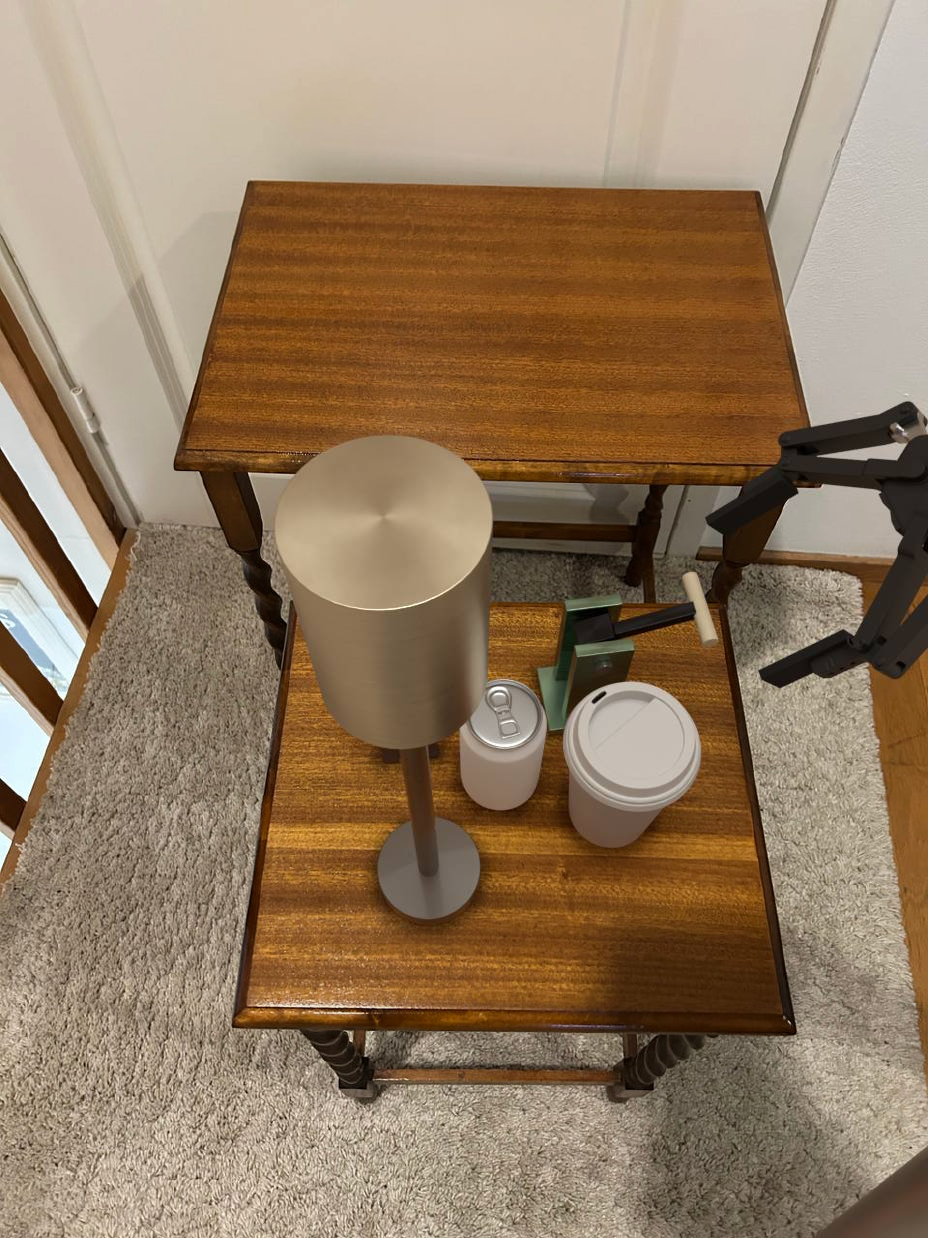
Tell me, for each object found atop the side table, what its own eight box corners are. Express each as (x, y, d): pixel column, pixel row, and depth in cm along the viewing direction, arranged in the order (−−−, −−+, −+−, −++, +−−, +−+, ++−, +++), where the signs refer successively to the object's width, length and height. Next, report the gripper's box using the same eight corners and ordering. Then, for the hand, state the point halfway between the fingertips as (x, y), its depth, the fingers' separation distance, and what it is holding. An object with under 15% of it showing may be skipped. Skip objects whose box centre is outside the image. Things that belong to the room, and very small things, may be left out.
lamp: (501, 882, 73) (538, 532, 34) (419, 948, 71) (355, 652, 31) (439, 805, 76) (407, 403, 37) (358, 865, 74) (231, 502, 34)
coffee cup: (638, 740, 79) (671, 654, 66) (687, 845, 74) (732, 775, 62) (532, 774, 78) (545, 693, 65) (575, 883, 73) (598, 819, 60)
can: (524, 730, 80) (532, 663, 69) (549, 800, 76) (561, 741, 66) (451, 750, 79) (448, 685, 69) (473, 821, 76) (473, 765, 65)
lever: (698, 581, 73) (695, 565, 71) (719, 648, 70) (717, 633, 68) (573, 615, 75) (568, 601, 73) (589, 681, 72) (583, 668, 69)
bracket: (613, 664, 83) (635, 585, 72) (628, 725, 80) (654, 653, 69) (535, 674, 82) (546, 596, 72) (548, 736, 79) (561, 665, 68)
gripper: (1152, 628, 54) (820, 762, 66) (971, 330, 67) (719, 488, 79) (1121, 589, 49) (767, 742, 61) (932, 276, 62) (670, 453, 74)
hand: (740, 599), depth 70 cm, fingers open, 13 cm apart
